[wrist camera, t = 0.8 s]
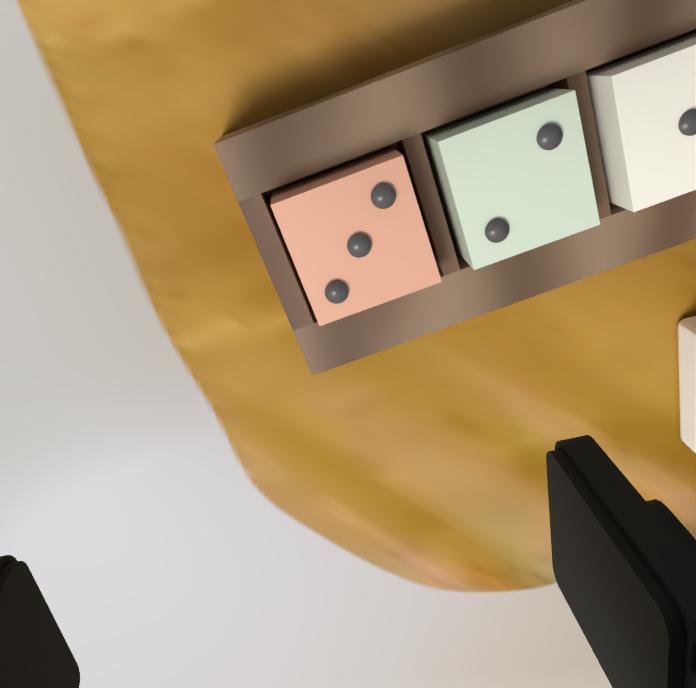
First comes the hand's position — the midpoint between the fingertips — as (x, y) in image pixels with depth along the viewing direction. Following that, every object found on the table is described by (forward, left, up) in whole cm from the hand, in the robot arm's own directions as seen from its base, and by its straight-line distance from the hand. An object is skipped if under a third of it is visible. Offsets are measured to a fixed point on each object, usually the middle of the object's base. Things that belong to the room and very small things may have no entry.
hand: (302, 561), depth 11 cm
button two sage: (-9, -1, -17) cm, 19 cm away
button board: (-9, -1, -18) cm, 21 cm away
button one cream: (-16, -1, -17) cm, 23 cm away
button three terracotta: (-3, -1, -17) cm, 17 cm away
